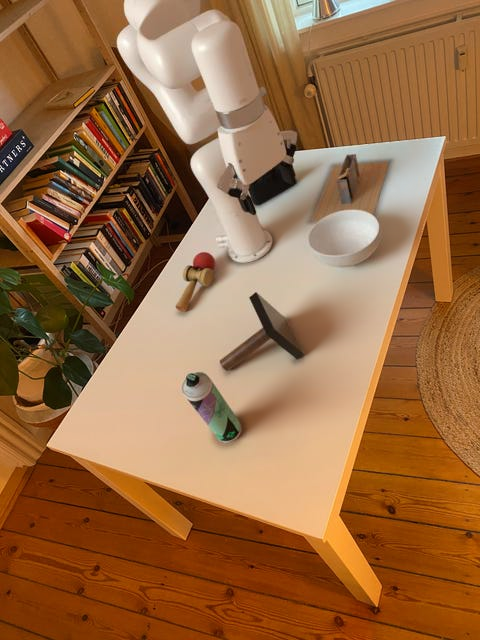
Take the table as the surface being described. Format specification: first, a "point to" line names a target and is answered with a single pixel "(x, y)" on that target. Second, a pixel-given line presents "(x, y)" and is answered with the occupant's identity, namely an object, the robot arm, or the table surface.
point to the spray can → (211, 406)
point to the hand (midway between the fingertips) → (270, 197)
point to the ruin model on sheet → (352, 187)
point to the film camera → (268, 186)
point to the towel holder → (264, 334)
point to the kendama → (196, 277)
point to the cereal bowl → (344, 238)
